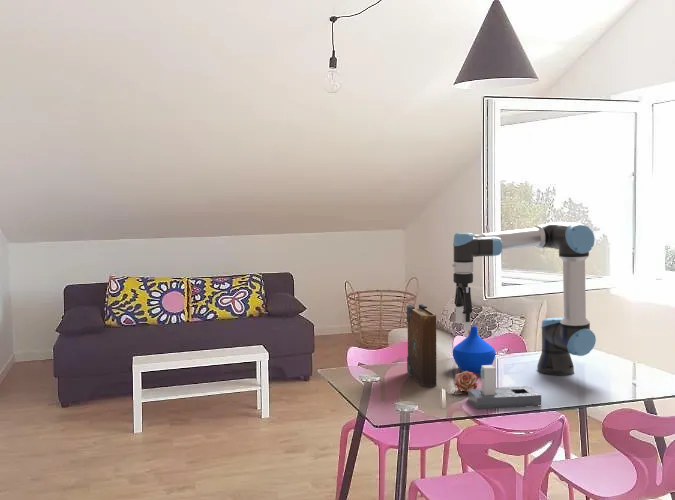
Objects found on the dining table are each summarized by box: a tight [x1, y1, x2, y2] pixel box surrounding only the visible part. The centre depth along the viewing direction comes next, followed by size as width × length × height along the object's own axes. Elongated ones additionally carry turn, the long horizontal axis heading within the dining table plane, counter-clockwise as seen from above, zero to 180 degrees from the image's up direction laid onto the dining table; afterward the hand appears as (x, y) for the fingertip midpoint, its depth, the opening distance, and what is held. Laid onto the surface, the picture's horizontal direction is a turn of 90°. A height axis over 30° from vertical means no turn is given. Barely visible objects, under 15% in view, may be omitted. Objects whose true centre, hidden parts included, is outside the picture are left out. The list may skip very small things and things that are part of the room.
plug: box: [480, 364, 496, 395], centre depth 277 cm, size 5×4×14 cm
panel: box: [467, 385, 542, 410], centre depth 278 cm, size 24×12×4 cm, turn 95°
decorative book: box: [406, 303, 437, 388], centre depth 311 cm, size 23×7×30 cm, turn 10°
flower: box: [454, 371, 479, 393], centre depth 293 cm, size 10×9×8 cm
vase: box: [452, 325, 496, 374], centre depth 325 cm, size 18×18×19 cm
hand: (463, 326), depth 292 cm, fingers open, 13 cm apart
